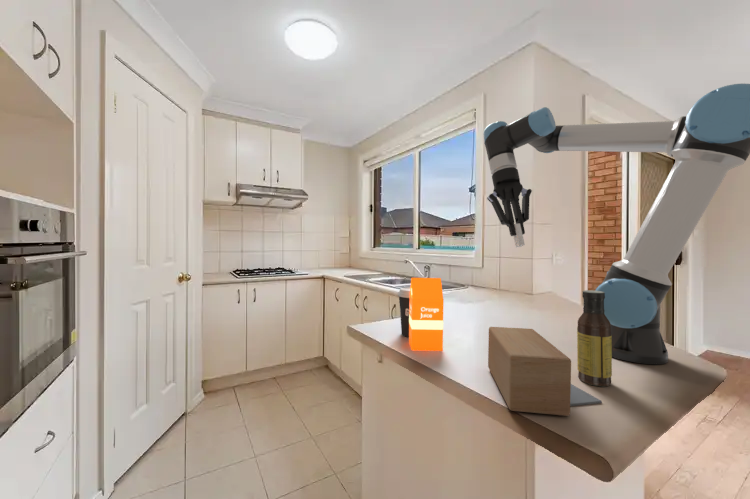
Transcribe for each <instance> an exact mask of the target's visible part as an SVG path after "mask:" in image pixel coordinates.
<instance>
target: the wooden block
mask: <svg viewBox="0 0 750 499" xmlns="http://www.w3.org/2000/svg"><path fill="white" fill-rule="evenodd" d="M487 348H488V350H487V352H488V353H487V354H488V355H487V356H488V357H487V360H488V361H487V362H488V363H487V364H488V365H487V367H488V369H489V372H490V374H491V376H492V378H493V379H494V382H495V383H496V385H497V387H498V390H499V391H500V394H502V397H503V399H504V401H505V402H506V404H507V407H508V409H509V410H510V411H513V412H523V413H532V414H534V413H535V414H542V415H543V414H544V415H554V416H555V415H556V416H570V415H571V406H570V393H571V384H572V359H571V358H570V357H568V356H567V355H566V354H565V353H563V352H562V351H560V349H559V348H557V347H556V346H554V345H553V344H552V343H551V342H550V341H548V340H547V339H546V338H545V337H544V336H542V335H540V333H538V332H537V331H536V330H534V329H533V328H526V327H525V328H523V327H506V326H505V327H504V326H503V327H502V326H489V328H488V346H487Z"/></svg>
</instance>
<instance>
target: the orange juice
mask: <svg viewBox="0 0 750 499" xmlns="http://www.w3.org/2000/svg"><path fill="white" fill-rule="evenodd" d="M409 287H410V302H409V337H408V344H409V347H410V350H411V351H415V352H417V351H419V352H420V351H421V352H432V351H433V352H443V351H444V349H443V348H444V346H443V345H444V344H443V343H444V293H443V284H442V278H441V277H411V279H410V286H409Z"/></svg>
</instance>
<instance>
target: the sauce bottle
mask: <svg viewBox="0 0 750 499" xmlns="http://www.w3.org/2000/svg"><path fill="white" fill-rule="evenodd" d="M582 299H583V307H582V311H583V312H582V314H580V317H578V320H577V327H576V335H577V336H576V337H577V338H576V339H577V340H576V342H577V343H576V345H577V346H576V348H577V351H576V352H577V356H576V357H577V359H576V360H577V363H576V364H577V365H576V366H577V371H578V372H577V374H578V375H577V377H578V379H579V380H580V381H581V382H583V383H585V384H587V385H590V386H594V387H604V388H605V387H608V386H610V385H611V384H612V376H613V369H612V365H613V364H612V360H613V357H612V336H611V324H610V322H609V320H608V319H607V317H606V316H605V314H604V311H605V310H604V299H605V293H604V292H602V291H595V290H591V289H590V290H589V289H588V290H587V289H586V290H582Z"/></svg>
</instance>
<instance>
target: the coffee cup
mask: <svg viewBox="0 0 750 499" xmlns="http://www.w3.org/2000/svg"><path fill="white" fill-rule="evenodd" d="M410 287H411V286H408V287H401V288H400V289H399V291H398V293H397V297H398V300H399V302H398V303H399V312H400V313H399V314H400V316H399V317H400V330H401V336H402V337H404V338H405V337H406V338H409V302H410Z"/></svg>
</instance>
